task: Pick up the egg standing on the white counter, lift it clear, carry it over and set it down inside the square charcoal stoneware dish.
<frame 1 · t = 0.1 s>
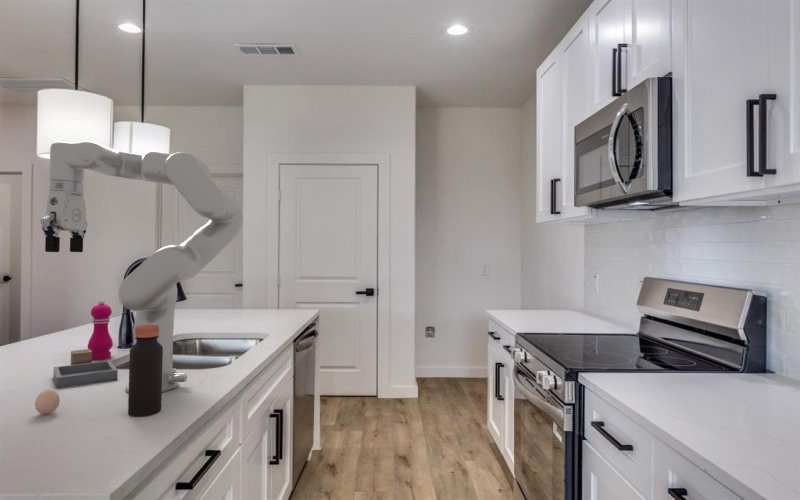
hand: (64, 252, 122), 37 cm above the worktop, tool pointing down, fingers open, 9 cm apart
egg: (47, 414, 103), on the worktop
pepper mill: (100, 358, 155), on the worktop
bottle: (144, 413, 105), on the worktop
dish: (85, 378, 131), on the worktop
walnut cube: (81, 367, 143), on the worktop
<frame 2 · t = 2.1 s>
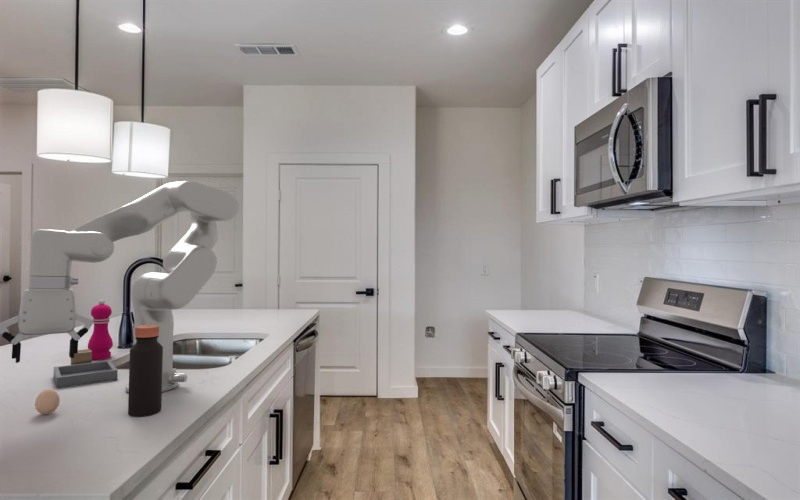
hand: (45, 359, 102), 13 cm above the worktop, tool pointing down, fingers open, 9 cm apart
nothing on the worktop moved.
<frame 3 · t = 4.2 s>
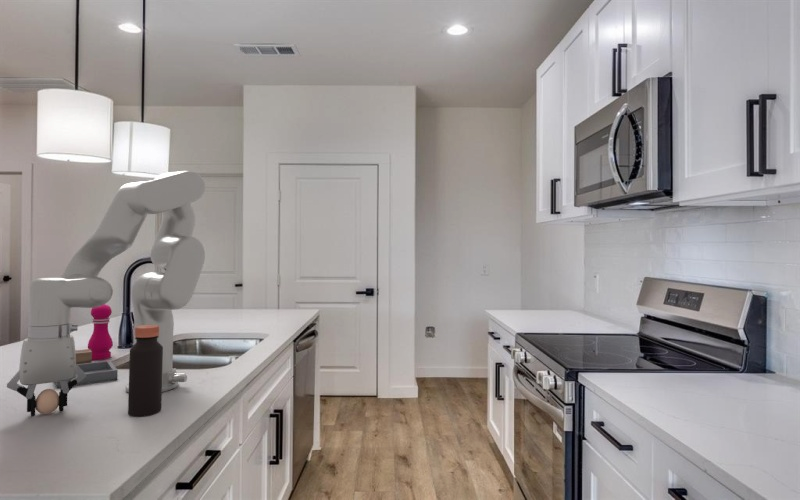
hand: (47, 411, 103), 1 cm above the worktop, tool pointing down, fingers closed on egg, 4 cm apart
egg: (47, 414, 103), on the worktop, touching gripper
everything else where it was.
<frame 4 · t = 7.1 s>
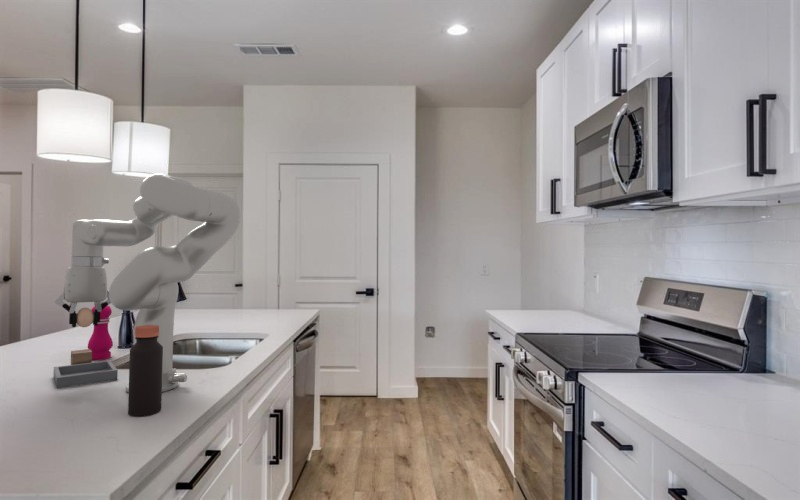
hand: (84, 325, 130), 16 cm above the worktop, tool pointing down, fingers closed on egg, 4 cm apart
egg: (84, 327, 130), point 15 cm above the worktop, touching gripper
everything else where it was.
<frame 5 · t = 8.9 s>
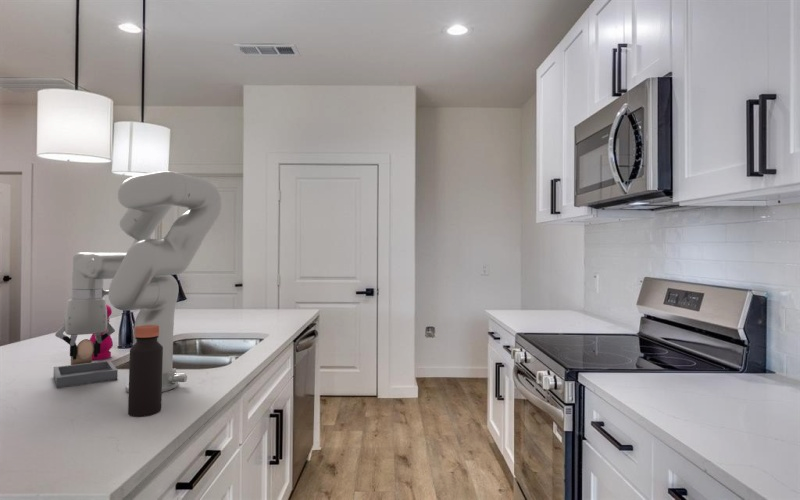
hand: (85, 356, 131), 6 cm above the worktop, tool pointing down, fingers closed on egg, 4 cm apart
egg: (84, 359, 131), point 5 cm above the worktop, touching gripper
everything else where it was.
when the fingers open (3 cm above the worktop, at t = 10.3 s): egg drops 2 cm, resting on dish.
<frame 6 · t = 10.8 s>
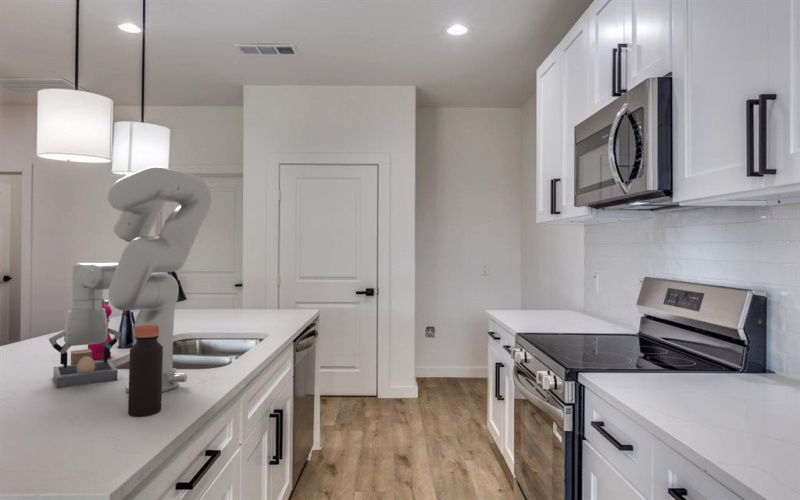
hand: (85, 364, 131), 4 cm above the worktop, tool pointing down, fingers open, 9 cm apart
egg: (85, 376, 131), resting on dish
everything else where it was.
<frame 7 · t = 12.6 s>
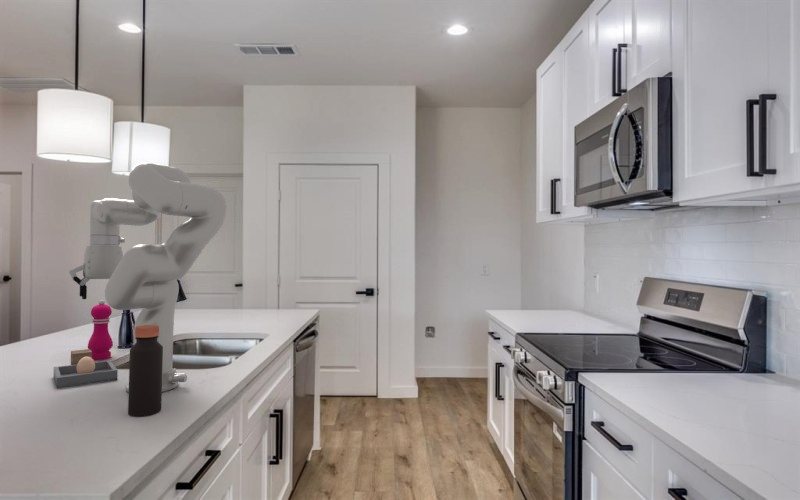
hand: (103, 298, 137), 23 cm above the worktop, tool pointing down, fingers open, 9 cm apart
nothing on the worktop moved.
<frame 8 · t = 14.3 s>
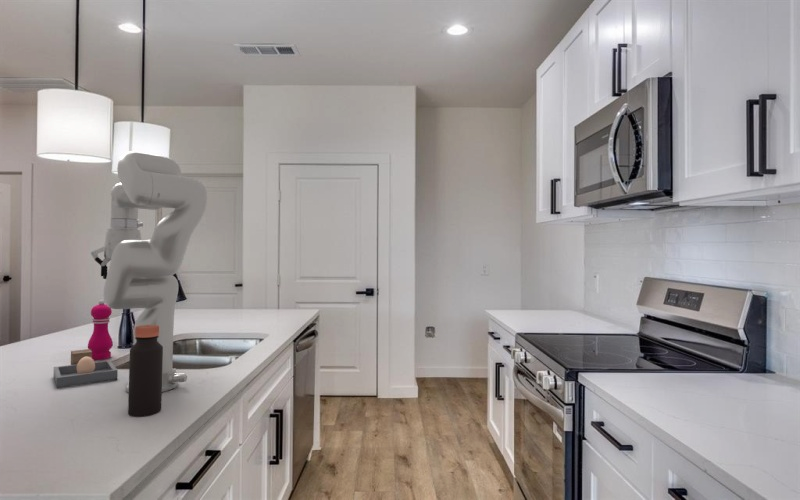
hand: (122, 278, 144), 28 cm above the worktop, tool pointing down, fingers open, 9 cm apart
nothing on the worktop moved.
at the end: egg 0.1 cm from the dish (horizontally); egg resting on dish; the gripper is holding nothing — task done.
